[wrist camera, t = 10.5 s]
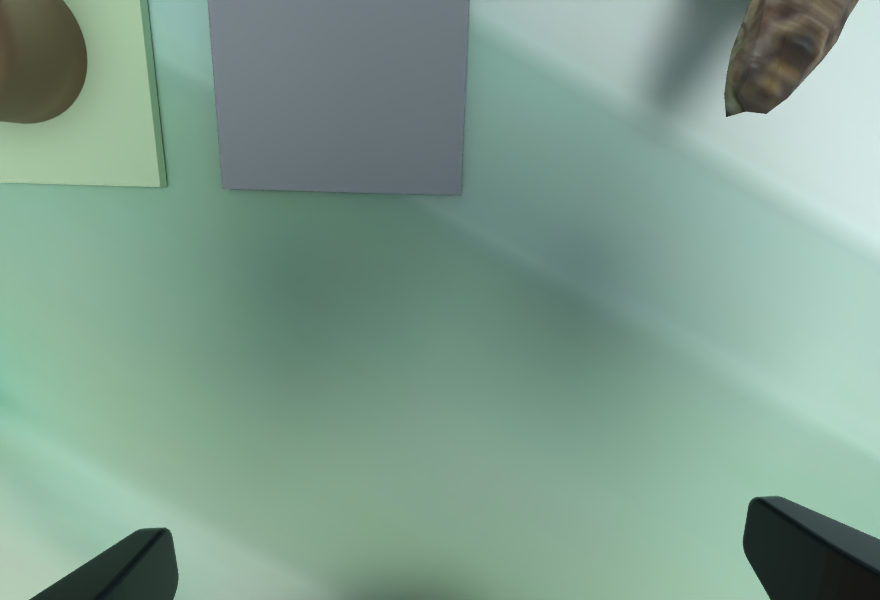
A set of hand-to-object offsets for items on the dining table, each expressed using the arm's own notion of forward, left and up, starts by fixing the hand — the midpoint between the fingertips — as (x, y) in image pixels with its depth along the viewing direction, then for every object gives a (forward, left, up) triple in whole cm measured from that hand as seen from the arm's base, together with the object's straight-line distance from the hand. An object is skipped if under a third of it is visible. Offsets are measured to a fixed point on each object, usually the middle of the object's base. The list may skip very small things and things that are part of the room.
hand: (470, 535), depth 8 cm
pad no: (+8, +3, -12) cm, 15 cm away
